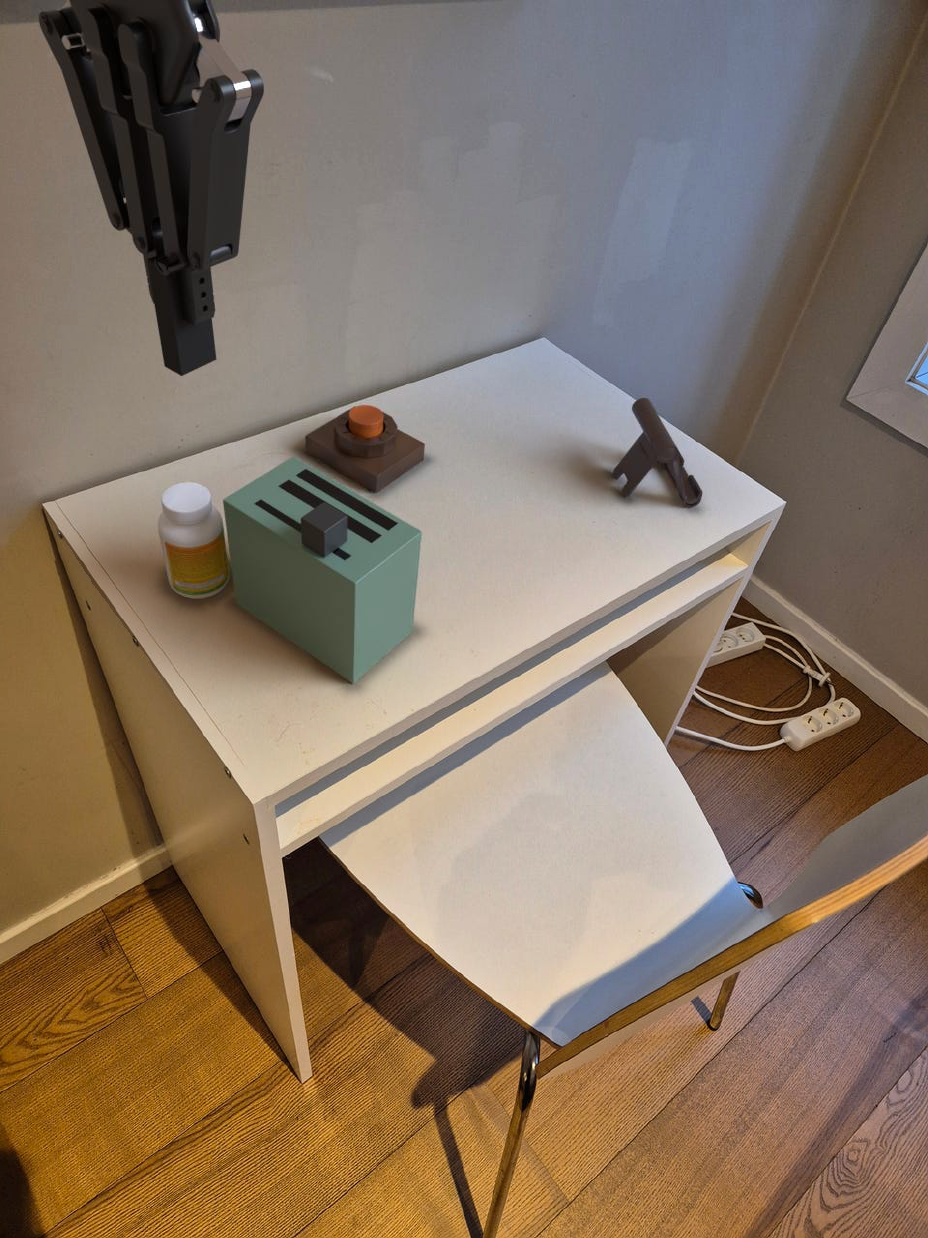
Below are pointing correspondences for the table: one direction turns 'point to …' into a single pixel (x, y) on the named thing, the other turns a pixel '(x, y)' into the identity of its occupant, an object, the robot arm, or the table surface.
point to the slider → (324, 529)
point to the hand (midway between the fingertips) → (190, 362)
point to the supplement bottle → (193, 541)
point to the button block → (365, 451)
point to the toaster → (323, 568)
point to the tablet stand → (656, 456)
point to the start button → (366, 421)
